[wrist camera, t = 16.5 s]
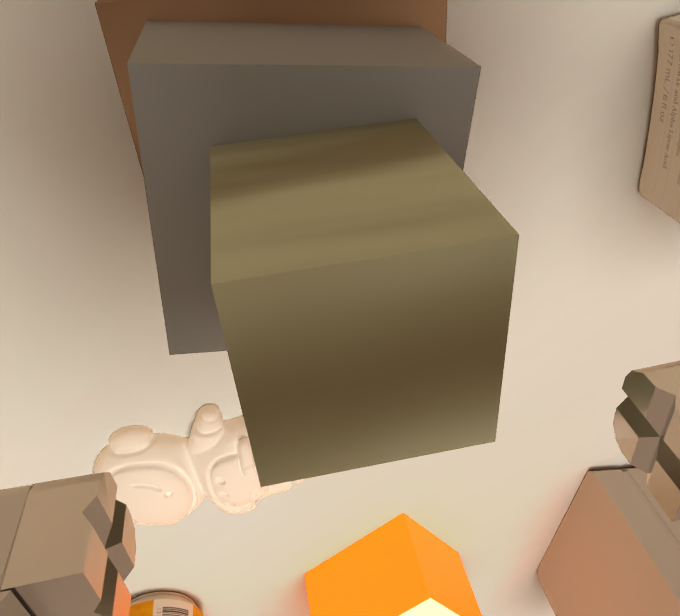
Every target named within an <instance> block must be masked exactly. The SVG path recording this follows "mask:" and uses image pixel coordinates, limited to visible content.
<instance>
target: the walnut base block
mask: <svg viewBox="0 0 680 616" xmlns="http://www.w3.org/2000/svg"><path fill="white" fill-rule="evenodd" d="M95 6H96V10H97V13H98V17H99V20H100V24H101V27H102V31H103V34H104V38H105V42H106V45H107V49H108V52H109V56H110V59H111V63H112V66H113V70H114V73H115V77H116V81H117V84H118V88H119V91H120V95H121V98H122V102H123V105H124V109H125V113H126V116H127V120H128V123H129V127H130V130H131V134H132V137H133V141H134V144H135V148H136V152H137V155H138V159H139V162H140V166H141V169H142V162H141V155H140V148H139V141H138V134H137V127H136V120H135V114H134V107H133V100H132V93H131V86H130V79H129V72H128V66H127V63H128V60H129V58H130V56H131V54H132V51H133V49H134V47H135V45H136V43H137V40H138V38H139V36H140V34H141V31H142V29H143V27H144V25H145V23H146V20H147V21H194V22H240V23H286V24H332V25H379V26H421V27H422V28H424V29H425V30H427V31H428V32H430V33H431V34H433V35H434V36H436V37H437V38H439V39H440V40H442V41H443V42H445V43H446V20H447V0H98V1H97V2H96V3H95ZM142 173H143V169H142ZM143 176H144V175H143Z"/></svg>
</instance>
